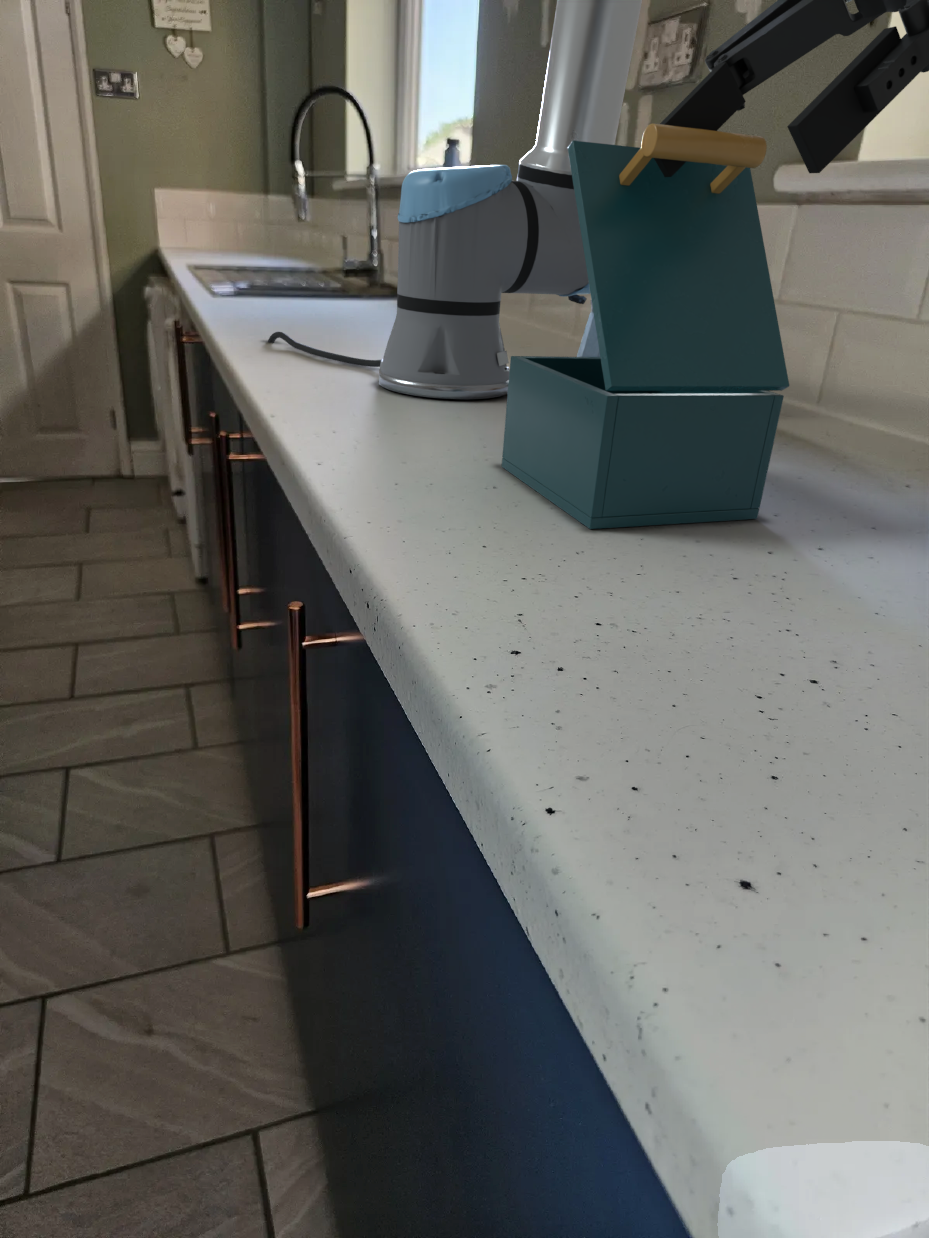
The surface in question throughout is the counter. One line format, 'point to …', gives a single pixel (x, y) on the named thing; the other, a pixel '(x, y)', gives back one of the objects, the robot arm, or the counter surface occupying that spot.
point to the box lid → (678, 263)
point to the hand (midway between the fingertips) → (721, 156)
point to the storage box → (635, 446)
